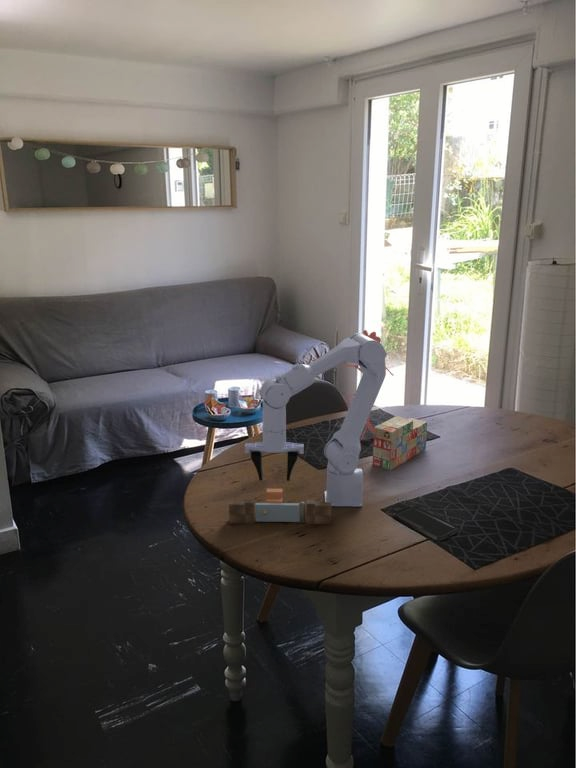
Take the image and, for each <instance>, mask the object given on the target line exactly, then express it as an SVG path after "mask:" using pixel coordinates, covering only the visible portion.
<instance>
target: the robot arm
mask: <svg viewBox="0 0 576 768" xmlns="http://www.w3.org/2000/svg"><path fill="white" fill-rule="evenodd" d="M362 333H363V332H356V333H353V334H352V335H351V336H350V337H346V338H343V340H341V342H340V343H339V344H338V345H336V346H335V347H333V348H331V349H330V350H328V351H327V352H326V353H324V354H323V355H321V356H320V357H318V358H316V359H315V360H313V361H312V362H310V363H309V364H305V363H299V364H297V363H295V364H294V365H292V366H291V369H289V370H288V371H287V372H284V373H282V374H281V375H279V374H277V375H276V376H275V378H271V379H268V380H266V381H264V382H263V383H262V385H261V387H260V389H259V391H258V393H259V396H260V397H261V399H262V441H257V442H249V443H247V442H245V444H244V454H250V459H251V461H252V463H253V465H254V467H255V469H256V472H257V475H258V481H263V465H262V463H263V461H262V460H263V459H262V455H263V453H270V454H271V453H274V454H275V453H278V454H282V453H283V454H286V453H287V470H286V471H287V472H286V481H287V482H290V479H291V476H292V475H291V474H292V471H293V469H294V466H295V464H296V462H297V460H298V454H300V455H304V453H305V450H304V449H305V448H304V447H305V446H304V443H297V442H296V443H295V442H289V441H287V410H286V409H287V404H288V403H289V401H290V398H291V397H293V396H295V395H297V394H298V393H300V392H302V391H303V390H305V389H307V388H309V387H310V386H312V385H313V384H314V382H315V379H316V377H317V376H320V375H322V374H324V373H325V372H328V371H330V370H331V369H332V368H335V367H337V366H339V365H341V364H342V363H344V362H346V363H351V364H355V365H357V364H358V365H359V366H358V367H359V368H360V369H361V371H362V372H361V371H360V372H361V373H362V375H361V378H360V380H359V383H358V385H357V387H356V391H355V395H353V397H352V400H351V403H350V404H349V409H348V408H347V413H346V415H345V416H346V417H345V416H344V419H343V421H342V424H341V426H340V429H339V430H338V431H335V432H334V433H333V434H332V435H333V436H332V437H331V439H330V440H329V441H328V442H327V443H326V444H325V445H324V447H323V454H324V457H325V458H326V459H327V465H326V490H324V492H323V493H324V494H323V495H324V502H331V505H332V507H360V508H361V507H362V506H363V495H364V489H363V485H364V475H363V469H362V468H359V463H360V453H361V451H362V445H361V440H360V439H361V437H362V434H363V432H364V430H365V427H366V422H368V417H369V414H370V415H371V411H372V410H373V409H372V408H374V405H375V402H376V399H377V397H378V395H379V392H380V390H381V388H382V386H383V383H384V380H385V379H386V375H387V369H386V368H387V367H386V357H387V355H388V353H387V351H386V349H385V348H384V346H383V344H382V342H378V341H376V340H373V339H371V338H369V337H367V336H366V335H365V334H362ZM369 418H370V417H369Z"/></svg>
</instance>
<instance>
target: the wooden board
mask: <svg viewBox="0 0 576 768" xmlns="http://www.w3.org/2000/svg"><path fill="white" fill-rule="evenodd" d="M332 507H333V506H332V505H331V502H325V501H324V502H323V501H316V500H315V499H306V525H332V509H333V508H332ZM228 518H229V519H228V520H229V521H228V523H229V524H255V499H253V498H251V499H250V498H246V499H245V500H244V501H242V500H229V502H228Z"/></svg>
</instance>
